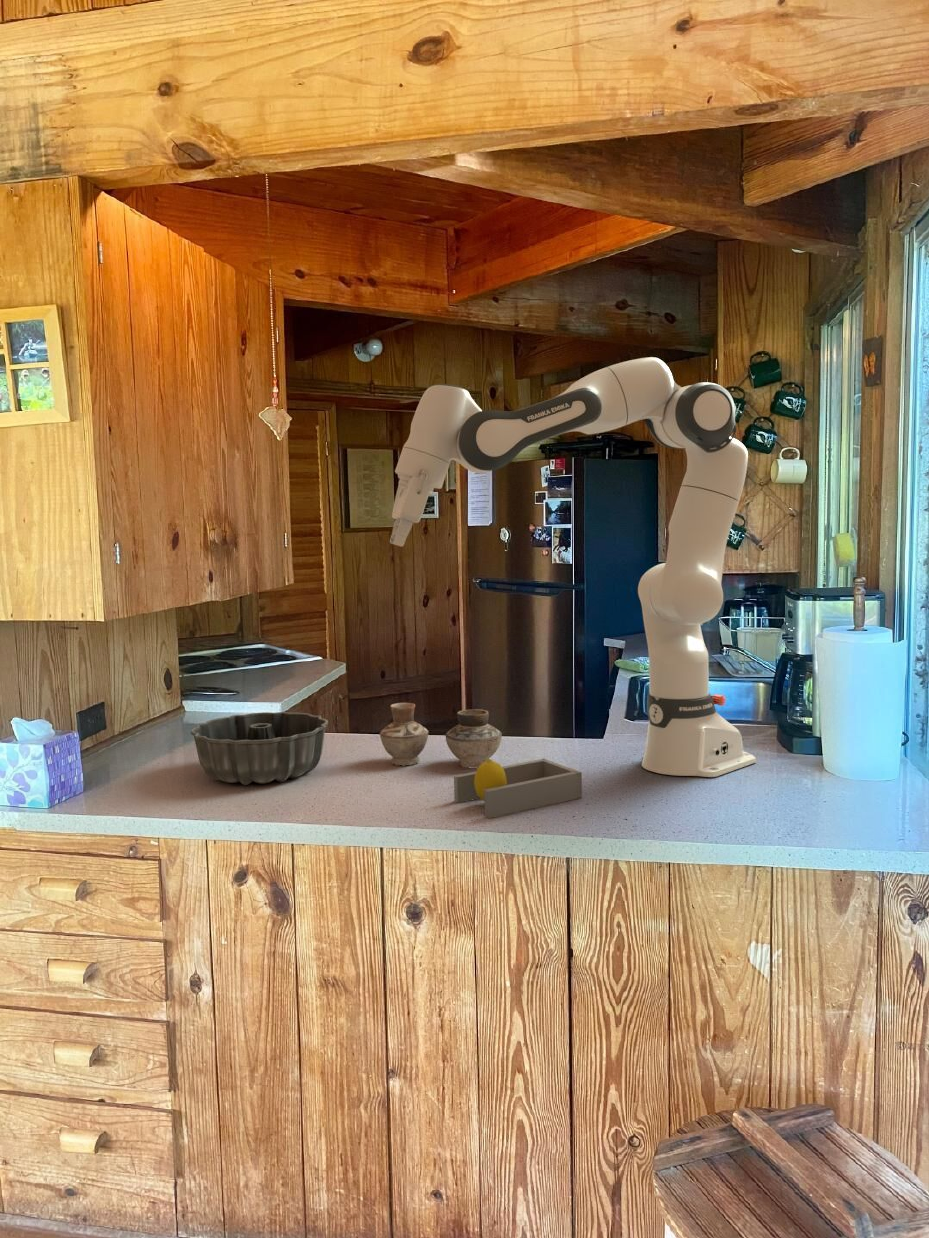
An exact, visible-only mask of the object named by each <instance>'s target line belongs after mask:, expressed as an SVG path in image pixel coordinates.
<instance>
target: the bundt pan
mask: <svg viewBox="0 0 929 1238" xmlns="http://www.w3.org/2000/svg"><path fill="white" fill-rule="evenodd" d="M328 725H329V721H328V719H326V718H322V716H321V715H313V714H311V713H305V712H287V711H277V712H268V711H267V712H252V713H246V714H245V713H244V714H235V715H233V714H232V715H230V716H226V717H225V716H224V717H218V718H214V719H210V720H208V721H206V722H204V723H198V724H195V727H193V728H192V729H191V730H190V734H191V736H193V738H194V743H195V747H196V752H197V753H196V754H197V756H198V760H199V764H200V765H201V767H202V769H203V770H204V772H205V774H207V776H208V777H210V778H211V779H213V780H215V781H221V782H224V783H229V784H235V783H236V784H237V783H241V784H242V785H244V786H249V785H250V784H251V783H253V782H254V783H257V784H262V785H263V784H269V783H270V782H272V781H274V780H275V781H276V782H279V783H283V782H285V781H286V780H287V779H294V778H299V777H300V776H303V775H306V774H308V773H310V772H312V771H313V770H314V769H315V768H316V767H317V766H318V764H319V763H320V761H321V757H322V753H323V748H324V739H325V732H326V730H327V726H328Z"/></svg>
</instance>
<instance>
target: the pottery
mask: <svg viewBox="0 0 929 1238" xmlns="http://www.w3.org/2000/svg"><path fill="white" fill-rule="evenodd" d="M390 709H391V715H392V720H393V721H392V722H391V723H389V724H388V725H386V726H385V727H384V728H383V729H382V730H381V731H380V732H379V738H380V740H381V743H382V745H383V748H384V750H385V751H386V753H387V754H388V755H390V757H392V758H391V765H393V764H395V765H394V766H397V765H402V766H401V767H405V765H409V766H413V764H414V765H417V764H418V762H419V763H420V758H419V755H420V754H421V753H422V752H423V750H424V749H425V747H426V744H427V741H428V739H429V738H428V737H429V730H428V729H427V728H426V727H425V726H423V725H422V724H420V723H418V722H417V721H415V720H414V715H415V709H416V704H415V703H412V702H398V703H393V704H390ZM489 716H490V715H489V711H488V710H484V709H466V710H459V711H458V712H457V722H458V724H457V725H455V726H453V727H452V728H451V729H450V730H448V731H447V732H446V733H445V735H444V736H445V741H446V745H447V747H448V748H449V750H450V752H451V753H452V754H453V756H455V757H456V759H458V760H459V766H460V765H461V766H462V767H461V766H460V767H461V768H464V767H479V766H480V765H481V764H482V763H484V762H487V760H489V759H491V758H492V756H494V755H495V754H496V752H497V751H498V749H499V747H500V744H501V741H502V735H503V733H502V732H501V731H500V730H499V729H497V728H496V727H494V726H493V725H491V724H489V723H488V722H489ZM416 763H417V764H416Z"/></svg>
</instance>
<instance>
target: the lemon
mask: <svg viewBox="0 0 929 1238" xmlns="http://www.w3.org/2000/svg"><path fill="white" fill-rule="evenodd" d="M502 767H503V766H502V765H500V763H498V762H496V761H493V759H491V758H489V760H487V762H484V763H482V764H481V765H480V766H479V767H478V768H476V771H475V772H476V774H475V779H474V786H475V790H476V793H477V795H478V796H479V798H478V799H480V800H482V801H483V802H484V790H486V789H490V788H495V787H500V786H505V785H507V780H506V774H505V771H504V769H503V768H502Z"/></svg>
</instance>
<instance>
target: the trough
mask: <svg viewBox="0 0 929 1238" xmlns="http://www.w3.org/2000/svg"><path fill="white" fill-rule="evenodd" d="M502 768H503V769H504V771H505V774H506V780H507V785H505V786H500V787H495V788H490V789H486V790H484V801H483V802H484V817H485V818H488V819H492V818H495V817H501V816H505V815H509V814H515V813H519V812H523V811H524V812H525V811H528V810H531V809H532V810H533V809H537V808H542V807H545V806H550V805H555V804H559V803H564V802H567V801H573V800H578V799H582V797H583V783H582V771H579V770H575V769H573V768H570V767H568V766H565V765H562V764H559V763H557V762H554V761H551V760H548V759H546V758H540V759H539V758H538V759H535V760H534V759H533V760H530V761H529V760H528V761H525V762H524V761H523V762H520V763H519V762H518V763H514V764H509V765H503V766H502ZM475 774H476V771H473V772H472V771H471V772H468V773H467V772H465V773H462V774H456V775H453V796H454V802H455V801H456V803H457V802H458V803H463V801H464V802H467V801H466V800H469V801H472V799H474V800H477V799H476V798H478V799H480V798H479V796H478V795H477V793H476V790H475V786H474V779H475ZM458 803H457V804H458Z"/></svg>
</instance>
